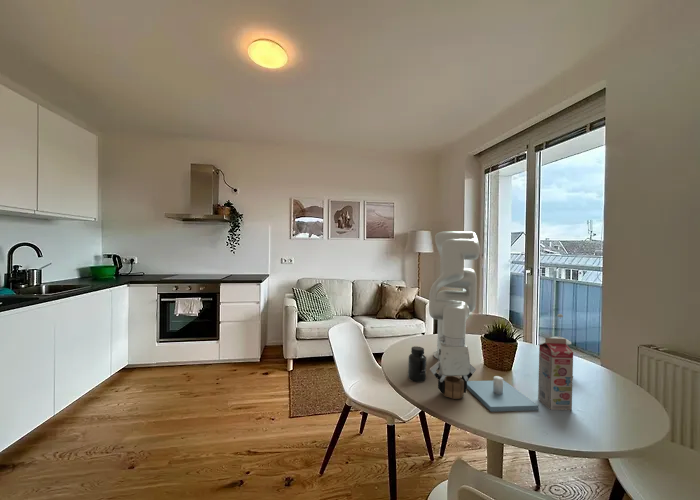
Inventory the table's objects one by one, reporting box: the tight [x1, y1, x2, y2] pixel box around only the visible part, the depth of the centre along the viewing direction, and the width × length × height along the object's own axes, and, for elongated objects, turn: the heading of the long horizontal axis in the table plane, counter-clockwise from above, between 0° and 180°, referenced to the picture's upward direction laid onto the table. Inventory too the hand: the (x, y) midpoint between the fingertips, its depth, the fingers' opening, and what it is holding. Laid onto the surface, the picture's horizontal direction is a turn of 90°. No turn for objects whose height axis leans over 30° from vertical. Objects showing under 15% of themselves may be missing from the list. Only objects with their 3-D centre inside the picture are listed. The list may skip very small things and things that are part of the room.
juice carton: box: [537, 337, 574, 411], centre depth 98 cm, size 7×7×22 cm
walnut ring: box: [442, 376, 465, 400], centre depth 102 cm, size 7×7×5 cm
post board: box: [466, 375, 539, 412], centre depth 102 cm, size 18×16×6 cm
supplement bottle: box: [407, 345, 427, 383], centre depth 115 cm, size 7×7×12 cm
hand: (452, 391), depth 102 cm, fingers closed on walnut ring, 7 cm apart
